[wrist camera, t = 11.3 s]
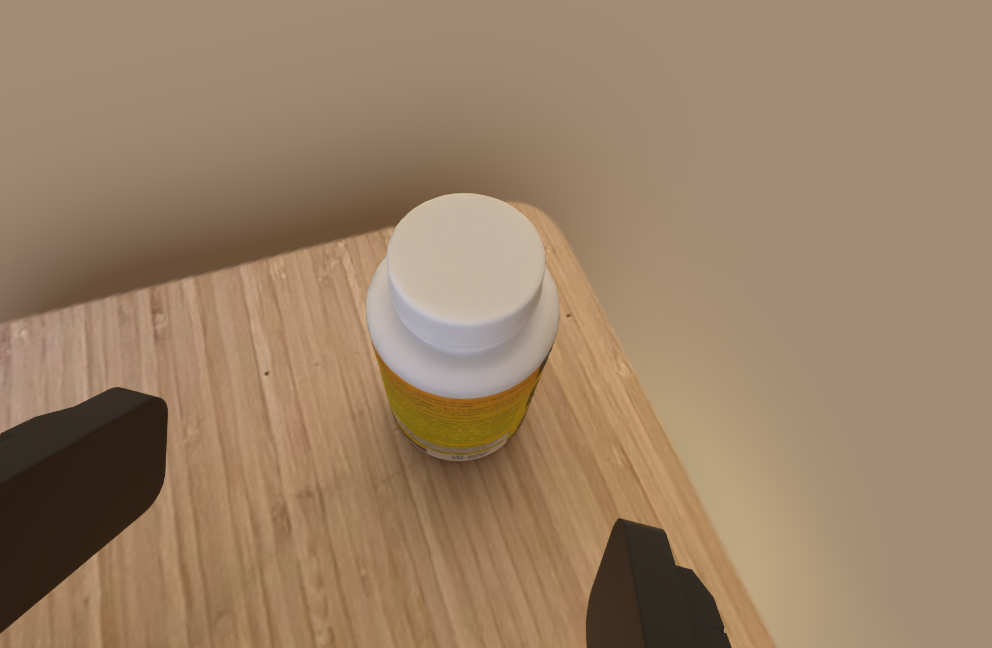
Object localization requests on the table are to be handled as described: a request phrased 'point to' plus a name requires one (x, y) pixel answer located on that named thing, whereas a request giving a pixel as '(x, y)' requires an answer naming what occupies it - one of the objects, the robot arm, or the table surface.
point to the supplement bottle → (462, 323)
